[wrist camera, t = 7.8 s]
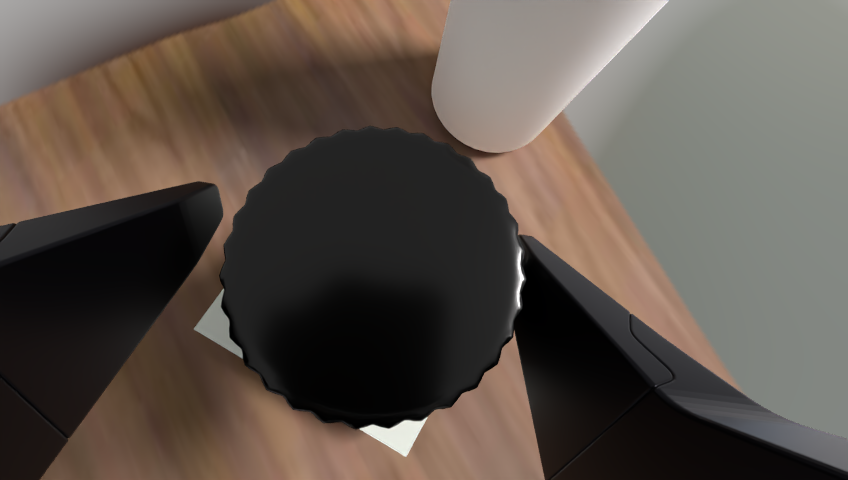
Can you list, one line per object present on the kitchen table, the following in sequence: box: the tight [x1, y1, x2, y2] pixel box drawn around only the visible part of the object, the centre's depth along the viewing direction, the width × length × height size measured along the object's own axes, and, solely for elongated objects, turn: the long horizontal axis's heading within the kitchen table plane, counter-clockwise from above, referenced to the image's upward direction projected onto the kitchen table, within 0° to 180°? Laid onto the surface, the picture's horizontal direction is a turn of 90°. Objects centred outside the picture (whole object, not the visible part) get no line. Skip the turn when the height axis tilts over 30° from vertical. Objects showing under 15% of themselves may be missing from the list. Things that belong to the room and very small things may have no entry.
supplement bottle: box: [219, 126, 526, 430], centre depth 11 cm, size 7×7×12 cm
